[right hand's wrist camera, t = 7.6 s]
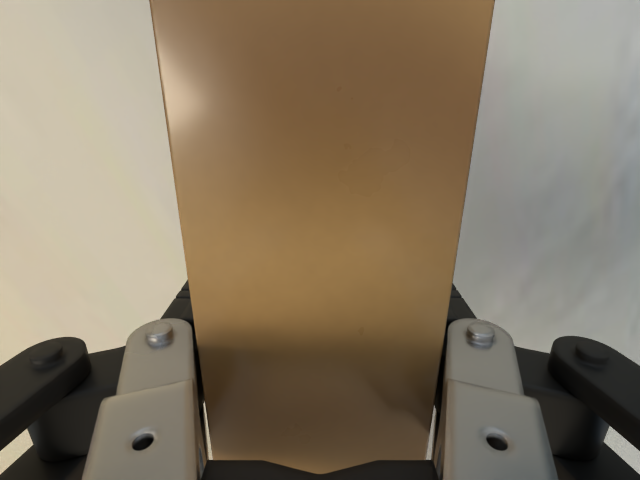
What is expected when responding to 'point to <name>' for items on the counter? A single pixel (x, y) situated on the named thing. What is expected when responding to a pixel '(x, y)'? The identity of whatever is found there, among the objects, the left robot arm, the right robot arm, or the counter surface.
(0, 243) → the counter surface
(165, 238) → the counter surface
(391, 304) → the post
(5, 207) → the counter surface
